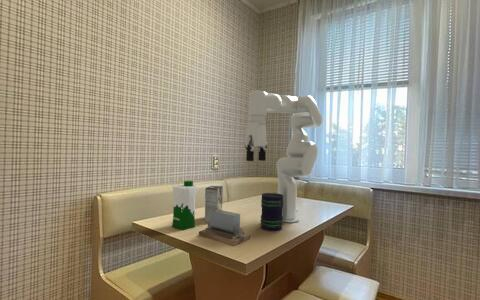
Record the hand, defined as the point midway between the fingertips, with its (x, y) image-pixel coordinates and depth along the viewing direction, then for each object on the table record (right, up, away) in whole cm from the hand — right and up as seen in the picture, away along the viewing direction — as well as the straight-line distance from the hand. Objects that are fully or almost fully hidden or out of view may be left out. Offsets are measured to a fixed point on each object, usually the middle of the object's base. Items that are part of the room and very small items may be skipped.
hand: (256, 160), depth 112 cm
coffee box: (-20, -30, +18) cm, 40 cm away
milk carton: (-32, -30, +5) cm, 44 cm away
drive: (-13, -28, -7) cm, 32 cm away
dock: (-13, -30, -7) cm, 34 cm away
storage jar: (+7, -31, +7) cm, 32 cm away
